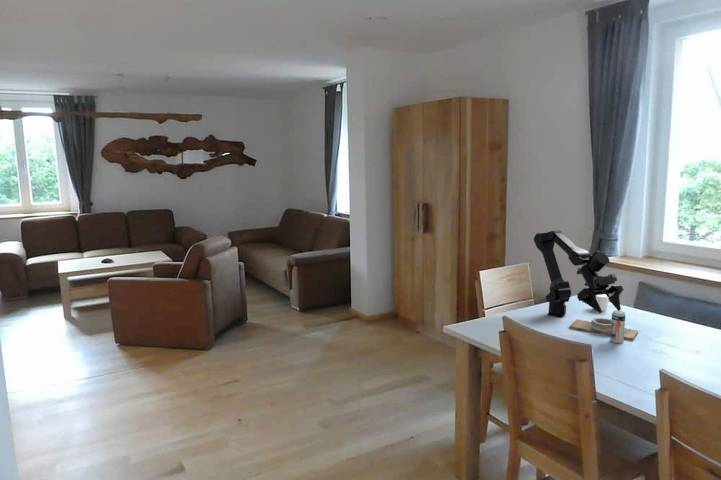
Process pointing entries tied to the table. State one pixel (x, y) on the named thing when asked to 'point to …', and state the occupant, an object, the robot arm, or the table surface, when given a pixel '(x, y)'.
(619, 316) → the beer can
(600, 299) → the white cup
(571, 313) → the table surface
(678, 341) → the table surface
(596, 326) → the socket board
